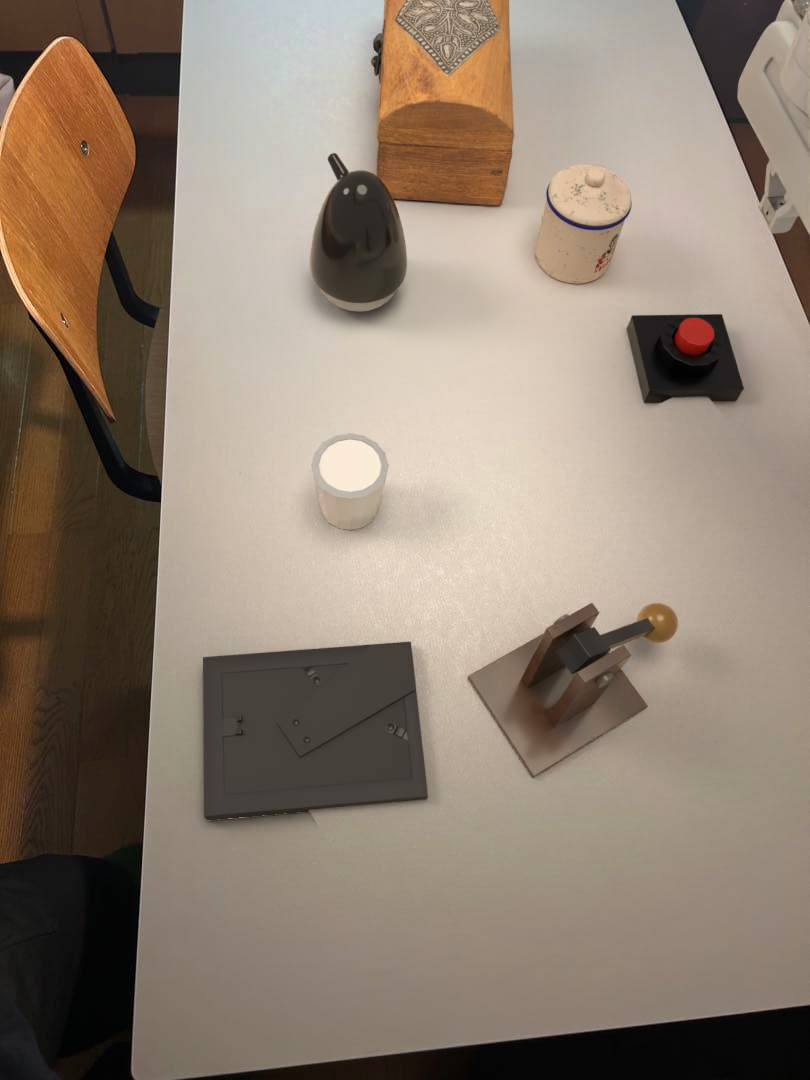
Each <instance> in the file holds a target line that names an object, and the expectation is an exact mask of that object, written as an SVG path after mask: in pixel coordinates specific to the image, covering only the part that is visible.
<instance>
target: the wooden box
mask: <svg viewBox="0 0 810 1080" xmlns="http://www.w3.org/2000/svg"><path fill="white" fill-rule="evenodd" d="M383 1H384V2H383V20H382V21H383V23H382V30H381V32H379V33H377V34H376V35H375V37H374V38H373V41H372V49H373V50H374V52H376V55H374V56H373V57H372V58H371V60H370V64H371V66H372V67H373V73H374V74H373V75H374V76H375V77H377V76H378V83H379V84H380V85H379V95H378V107H377V122H376V138H377V147H376V149H377V150H376V176H377V177H379V178H380V179H381V180H382V181H383V183H384V184H385V185H386V187H387V188H388V190H389V191H390V193H391V195H392V197H393V199H394V200H395V199H396V200H411V201H413V200H414V201H424V202H425V201H428V202H442V203H454V204H468V205H486V206H501V205H502V204H503V201H504V197H505V195H506V191H507V186H508V179H509V172H510V167H511V162H512V158H513V157H512V156H513V143H514V137H515V128H514V126H515V125H514V106H513V105H514V104H513V85H512V84H513V83H512V65H511V62H512V61H511V34H510V33H511V31H510V30H511V28H510V0H383Z"/></svg>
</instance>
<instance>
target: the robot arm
mask: <svg viewBox="0 0 810 1080" xmlns="http://www.w3.org/2000/svg"><path fill="white" fill-rule="evenodd" d="M737 101H738V103H739V105H740V107H741V109H742V110H743V113H744V115H745V116H746V119H747V120H748V122H749V125H750V126H751V127H752V130H753V131H754V133H755V135H756V138H757V139H758V141H759V143H760V144H761V146H762V148H763V150H764V152H765V154H766V156H767V158H768V161H767V162H768V163H767V165H766V170H765V182H764V194H763V195H762V198H761V199H760V202H759V204H758V210H759V211H760V213H761V215H762V217H763V219H764V221H765V223H766V225H767V228H768V229H769V231H770V233H771V234H773V235H774V234H785V233H788V232H789V231H790V230H791V229H793V226H794V223H795V222H796V220H797V218H798V217H799V218H800V220H801V222H802V223H803V226H804V227H805V229H806V231H807V234H808V235H809V236H810V0H784V1H783V2H782V4H781V6H780V9H779V10H778V13H777V16H776V18H775V20H774V21H773V22H771V23H770V24H768V26H766V28H765V29H764V31H763V32H762V34H761V35H760V37H759V39H758V41H757V42H756V44H755V46H754V48H753V50H752V52H751V54H750V55H749V58H748V60H747V62H746V64H745V66H744V68H743V70H742V72H741V74H740V77H739V79H738V84H737Z"/></svg>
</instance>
